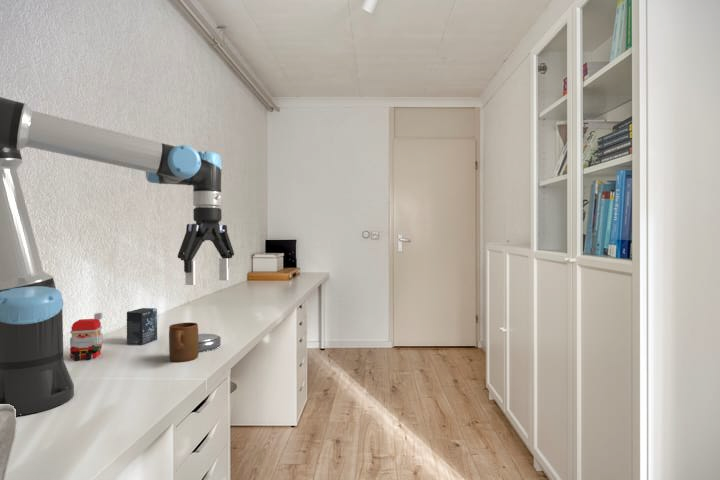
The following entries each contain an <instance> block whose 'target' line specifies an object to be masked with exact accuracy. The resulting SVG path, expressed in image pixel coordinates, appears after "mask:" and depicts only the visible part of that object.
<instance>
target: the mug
mask: <svg viewBox="0 0 720 480" xmlns="http://www.w3.org/2000/svg"><path fill="white" fill-rule="evenodd" d="M168 328H169V329H168V349H169V350H168V351H169V355H168V356H169V359H170V361H172V362H175V363H183V362H184V363H185V362H190V361H193V360H196V359H197V358H198V357H199V353H200V352H199V342H198V334H199V325H198V323H197V322H179V323H174V324H171V325H169V327H168Z"/></svg>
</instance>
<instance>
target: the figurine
mask: <svg viewBox="0 0 720 480" xmlns="http://www.w3.org/2000/svg"><path fill="white" fill-rule="evenodd" d="M93 316H94V317H93V318H84V319H78V320H76V321H75V322H73V323H72V326H71V330H70V334H71V337H69V351H70V353H69V357H70V359H72V360H74V362H78V361H81V360H86V361H90V360H93V359H96V358H97V357H99V355H101V352H102V351H101V350H102V347H103V344H102V343H103V332H102V331H101V330H102V329H103V326H102V325H101V324H102V323H101V320H102V319H103V312H95V313H94V315H93Z"/></svg>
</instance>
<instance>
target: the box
mask: <svg viewBox="0 0 720 480" xmlns="http://www.w3.org/2000/svg"><path fill="white" fill-rule="evenodd" d="M157 340H158V308H156V307H155V308H153V307H151V308H150V307H141V308H137V309H134V310H130V311H129V310H128V311H126V345H132V346H143V345H145V344H147V343H150V342H154V341H157Z"/></svg>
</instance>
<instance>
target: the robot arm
mask: <svg viewBox="0 0 720 480" xmlns="http://www.w3.org/2000/svg"><path fill="white" fill-rule="evenodd" d="M25 148H31V149H36V150H41V151H45V152H51V153H55V154H60V155H64V156H71V157H74V158H79V159H83V160H89V161H93V162H99V163H102V164H107V165H113V166H117V167H123V168H127V169H132V170H137V171H142V172H145V178H146V180H147V182H148V183H152V184H158V185H179V186H180V185H181V186H192V188H193V189H192V191H193V192H192V194H193V195H192V196H193V197H192V198H193V202H192V205H193V206H194V209H193V212H192V213H193V221H194V222H195V223H187V224H186V227H185V228H186V229H185V234H184V237H183V240H182V242H181V245H180V247H179V251H178V254H177V258H178V259H180V260H181V261H183V271H184V273H185V275H184V276H185V277H184V278H185V279H184V280H185V285H186V286H195V285H196V260H193V259H194V258H195V257H196V255H197V253H198V251H199V249H200V248H201V246H202V245H203V243H204V242H206V241H210V242H212V243H213V246H214V248H216V249H215V250H216V251H217V252H218V254H219V255H220V258H219V259H218V261H219V267H218V268H219V269H218V270H219V271H218V272H219V275H218V276H219V277H218V279H219V280H218V281H229V269H230V259H232V258H233V256H235V252H234V249H233V245H232V242H231V239H230V237H229V233H228V227H227V224H220V222H222V219H223V218H222V216H223V215H222V209H221V207H222V171H223V170H222V158H221V156H220V154H218V152H217V153H216V152H214V151H208V150H207V151H204V150H202V151H199V150H198V151H197V150H196V149H195V148H193V147H192V146H189V145H185V144H184V145H183V144H182V145H170V144H166V143H163V142H158V141H154V140H151V139H146V138H143V137H139V136H135V135H130V134H127V133H122V132H119V131H115V130H111V129H107V128H103V127H99V126H95V125H91V124H87V123H84V122H83V123H82V122H78V121H74V120H72V119H66V118H63V117H59V116H56V115H52V114H48V113H47V114H46V113H44V112H39V111H37V110H36V111H34V110H33V109H32V108H31V107H30V106H29V105H28V104H27V103H24V102H20V101H15V100H12V99H9V98H6V97H2V96H0V404H10V405H12V406H14V408H15V409H16V416H15V417H18V415H20V414H26V415H30V413H31V414H35V412H36V413H39V412H43V411H47V410H51V409H53V408H56V407H59V406H61V405H63V404H65V403H68V402H69V401H70V400H71V399H73V397H74V396H75V386H74V385H75V384H74V382H73V379H72V378H71V374H70V373H69V370H68V368H67V366H66V363H65V361H64V327H63V326H64V325H63V324H64V323H63V322H64V320H63V318H64V317H63V307H64V300H63V295H62V292H61V291H60V290H59V289H58V288H56V283H55V280H54V276H53V275H51V274H49V273H47V272H45V271H44V269H43V265H42V262H41V261H42V260H41V257H40V253H39V251H38V247H37V242H36V238H35V236H34V235H35V234H34V232H33V227H32V226H33V225H32V224H31V220H30V215H29V212H28V208H27V204H26V200H25V197H24V193H23V189H22V185H21V181H20V178H19V173H18V169H19V167H20V166H21V165H22V164H23V162H24V161H23V157H22V153H21V150H23V149H25ZM58 405H59V406H58ZM55 406H56V407H55ZM20 416H21V415H20Z"/></svg>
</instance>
